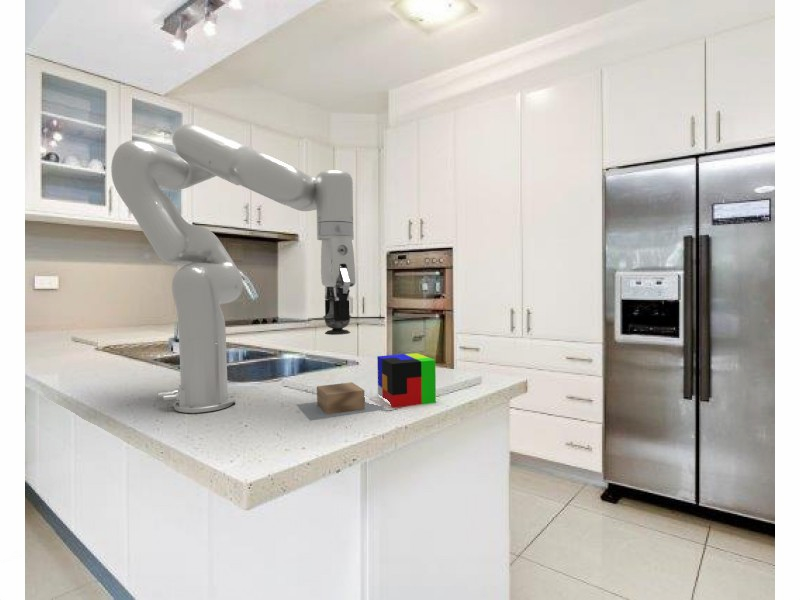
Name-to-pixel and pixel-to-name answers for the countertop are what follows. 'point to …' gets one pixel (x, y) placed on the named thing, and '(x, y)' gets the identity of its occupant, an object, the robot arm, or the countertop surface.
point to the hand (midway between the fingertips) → (337, 318)
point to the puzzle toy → (407, 379)
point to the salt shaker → (331, 322)
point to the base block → (340, 398)
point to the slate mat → (317, 413)
